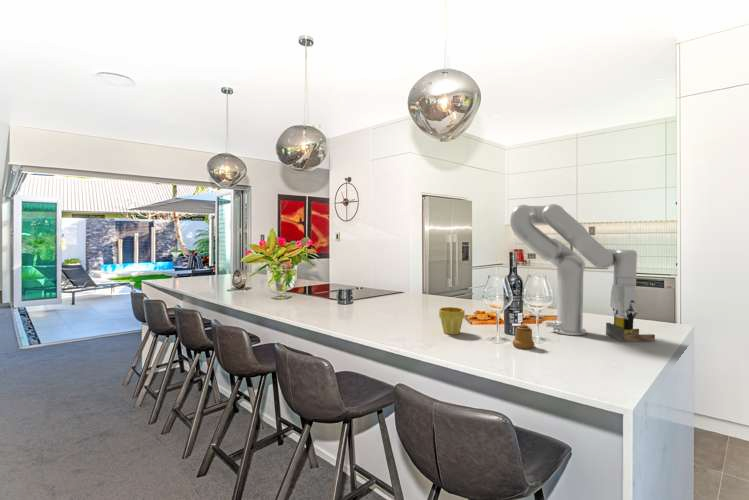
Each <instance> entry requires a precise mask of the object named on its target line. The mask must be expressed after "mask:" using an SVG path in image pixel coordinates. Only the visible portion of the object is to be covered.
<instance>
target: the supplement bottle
mask: <svg viewBox="0 0 749 500" xmlns="http://www.w3.org/2000/svg"><path fill="white" fill-rule="evenodd" d="M628 311H629V310H628ZM629 314H630V313H628V315H629ZM624 319H626V318H625V313H624V312H622V311H619V310H618V314H616V315H615V325H617V326H619V327H622V328H624ZM631 334H632V330H625V329H624V335H631Z"/></svg>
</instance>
